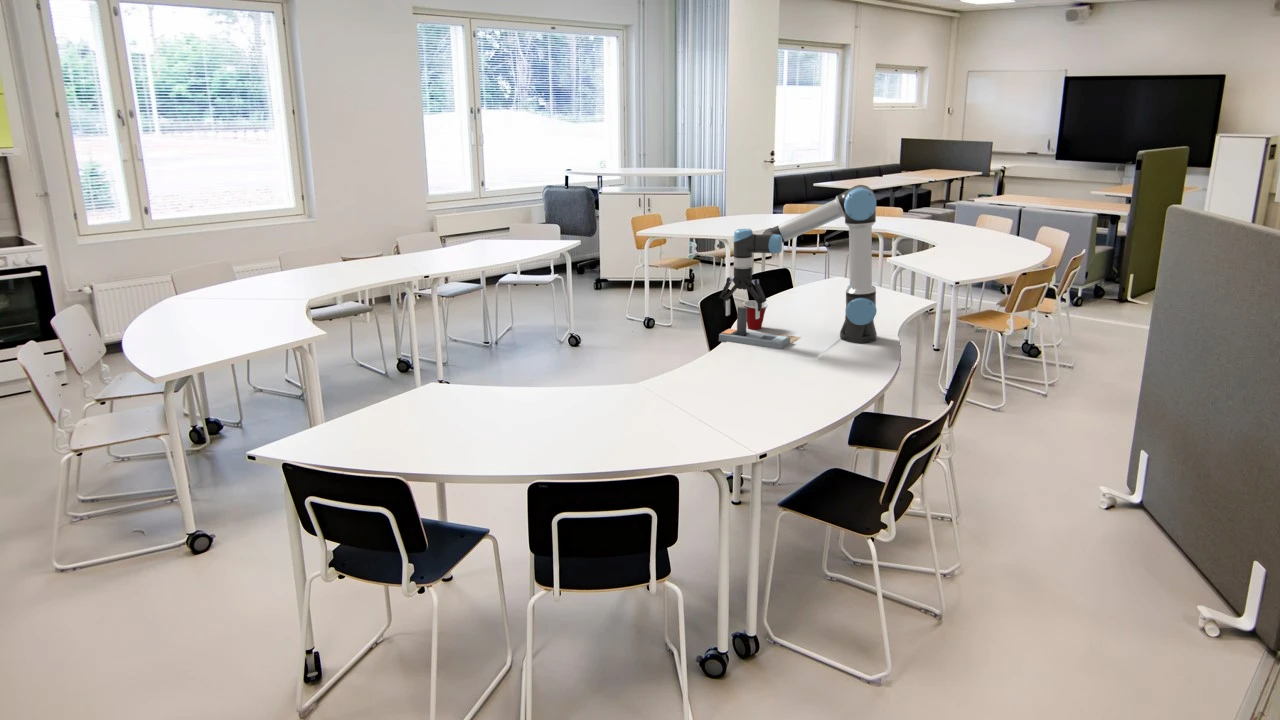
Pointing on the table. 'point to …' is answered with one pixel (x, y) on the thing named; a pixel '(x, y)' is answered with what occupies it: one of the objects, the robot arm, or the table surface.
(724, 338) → the socket block
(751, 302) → the plastic cup
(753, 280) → the robot arm
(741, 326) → the plug
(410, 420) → the table surface
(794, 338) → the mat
